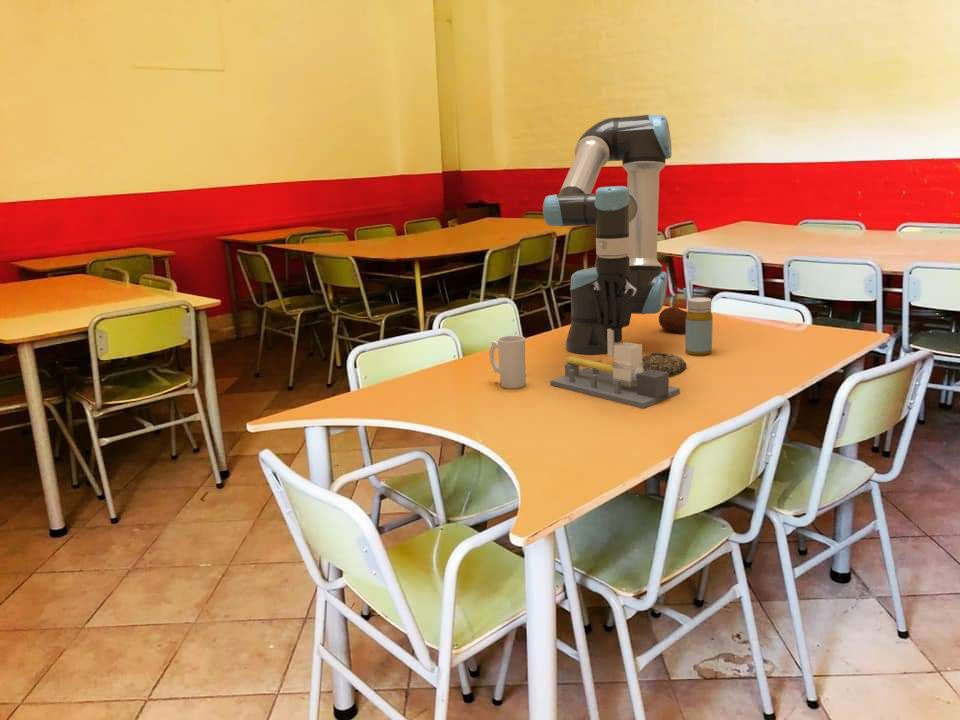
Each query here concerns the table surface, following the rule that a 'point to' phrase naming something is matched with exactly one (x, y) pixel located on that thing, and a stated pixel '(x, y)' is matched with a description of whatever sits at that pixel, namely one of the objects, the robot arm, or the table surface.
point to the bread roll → (663, 363)
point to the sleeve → (626, 362)
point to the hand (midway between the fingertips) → (613, 354)
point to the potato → (673, 319)
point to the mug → (510, 361)
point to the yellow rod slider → (601, 384)
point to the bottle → (699, 326)
